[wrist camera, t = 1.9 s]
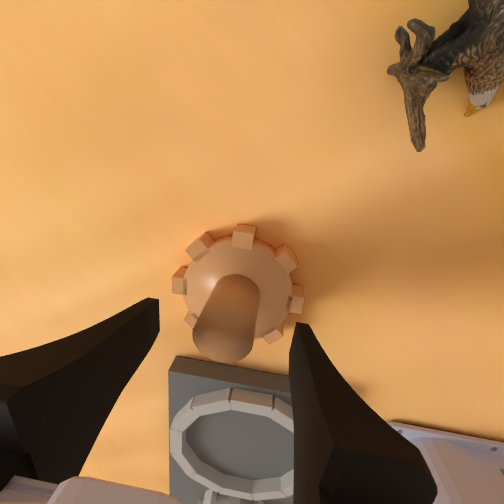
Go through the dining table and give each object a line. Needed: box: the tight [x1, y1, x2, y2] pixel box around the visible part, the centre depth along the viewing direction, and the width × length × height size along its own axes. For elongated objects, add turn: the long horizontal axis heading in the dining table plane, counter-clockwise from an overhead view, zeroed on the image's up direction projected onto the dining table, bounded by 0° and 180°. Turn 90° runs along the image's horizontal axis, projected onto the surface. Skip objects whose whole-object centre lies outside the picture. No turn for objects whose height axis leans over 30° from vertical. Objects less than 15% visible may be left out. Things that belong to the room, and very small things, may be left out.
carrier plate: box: [168, 356, 294, 504], centre depth 22 cm, size 13×21×5 cm, turn 173°
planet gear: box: [172, 224, 305, 363], centre depth 15 cm, size 8×8×6 cm
